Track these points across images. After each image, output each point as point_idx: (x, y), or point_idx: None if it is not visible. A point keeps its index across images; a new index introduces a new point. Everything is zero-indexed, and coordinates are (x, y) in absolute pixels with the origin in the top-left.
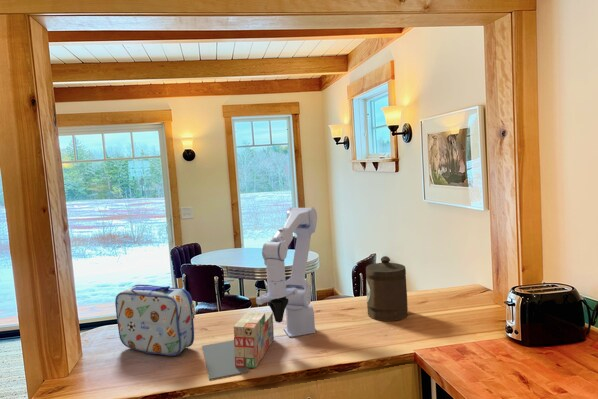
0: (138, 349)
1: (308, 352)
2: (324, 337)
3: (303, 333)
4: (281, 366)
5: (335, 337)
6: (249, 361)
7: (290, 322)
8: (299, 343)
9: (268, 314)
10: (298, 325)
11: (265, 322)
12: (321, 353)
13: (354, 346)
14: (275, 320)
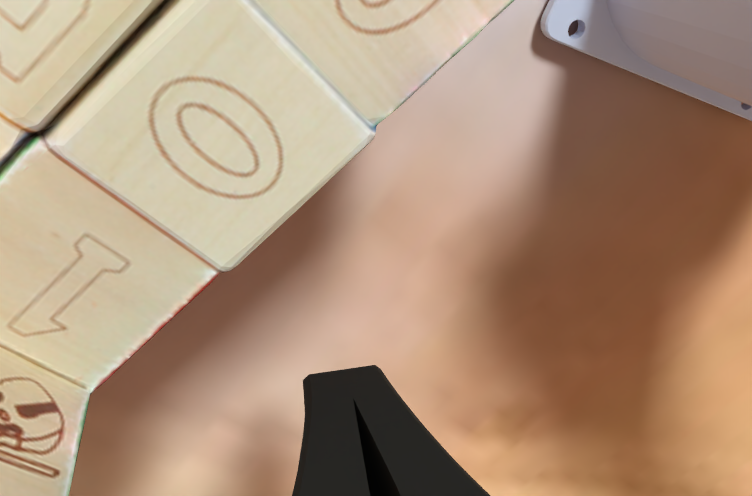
0: None
1: (424, 388)
2: (710, 242)
3: (675, 82)
4: (119, 470)
5: (748, 291)
6: None
7: (696, 5)
8: (496, 214)
9: (388, 32)
10: (708, 86)
11: (92, 389)
12: (475, 440)
13: (678, 455)
14: (305, 392)
